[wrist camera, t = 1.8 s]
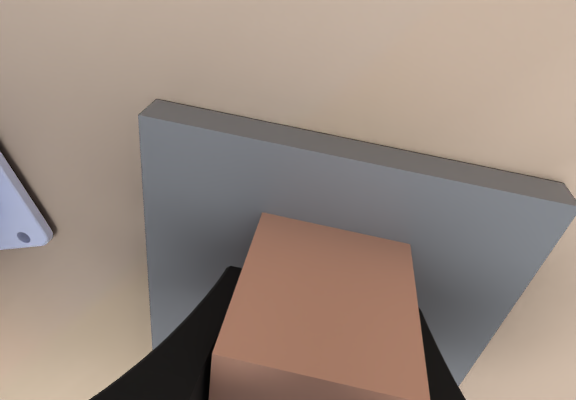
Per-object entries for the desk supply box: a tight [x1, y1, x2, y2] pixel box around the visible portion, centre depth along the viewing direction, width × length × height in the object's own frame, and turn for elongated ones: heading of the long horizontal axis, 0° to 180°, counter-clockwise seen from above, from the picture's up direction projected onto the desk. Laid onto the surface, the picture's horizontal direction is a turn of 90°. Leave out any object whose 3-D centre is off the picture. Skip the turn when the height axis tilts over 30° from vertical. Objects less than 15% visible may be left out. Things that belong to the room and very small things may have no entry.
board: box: [138, 99, 576, 386], centre depth 17 cm, size 20×12×1 cm, turn 171°
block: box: [209, 212, 430, 400], centre depth 12 cm, size 4×4×5 cm
